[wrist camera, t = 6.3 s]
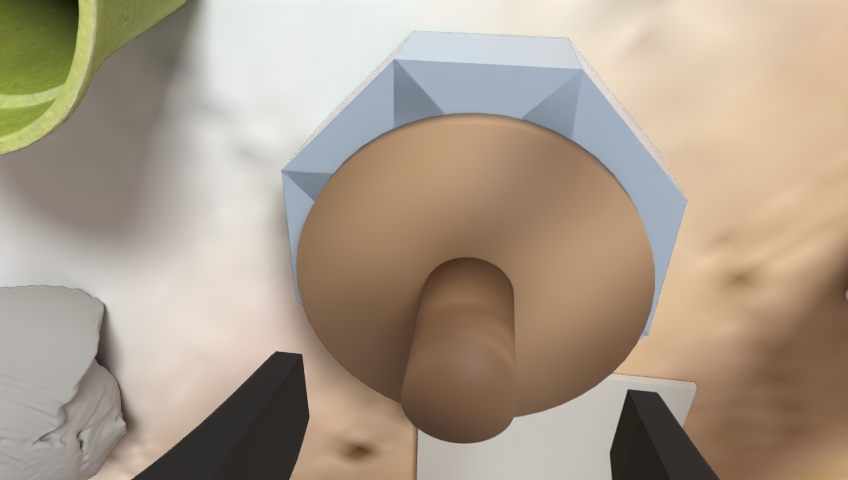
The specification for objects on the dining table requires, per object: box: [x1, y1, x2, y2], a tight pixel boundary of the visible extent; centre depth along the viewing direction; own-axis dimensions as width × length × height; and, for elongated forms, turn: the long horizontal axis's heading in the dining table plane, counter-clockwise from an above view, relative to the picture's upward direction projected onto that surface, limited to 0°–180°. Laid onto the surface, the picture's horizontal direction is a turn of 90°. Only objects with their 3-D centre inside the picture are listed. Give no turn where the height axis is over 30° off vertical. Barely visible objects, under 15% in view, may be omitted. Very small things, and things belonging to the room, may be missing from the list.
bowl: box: [281, 31, 688, 339], centre depth 20 cm, size 12×12×4 cm
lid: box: [296, 113, 655, 444], centre depth 16 cm, size 11×11×6 cm
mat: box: [417, 374, 697, 480], centre depth 28 cm, size 12×12×1 cm
